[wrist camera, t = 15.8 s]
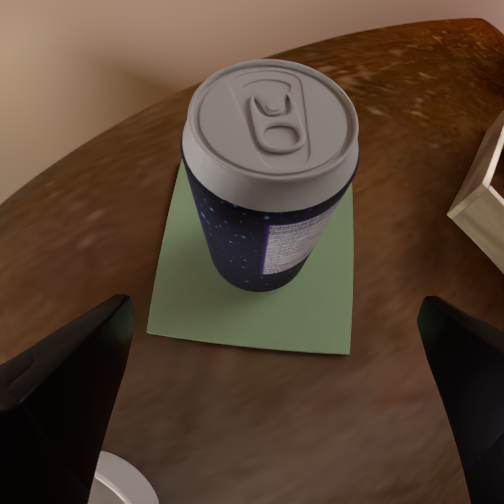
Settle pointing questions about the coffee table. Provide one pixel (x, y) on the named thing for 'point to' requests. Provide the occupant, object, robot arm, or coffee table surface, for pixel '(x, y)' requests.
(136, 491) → the teacup
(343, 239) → the mat
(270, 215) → the beverage can
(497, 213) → the box
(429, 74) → the coffee table surface
